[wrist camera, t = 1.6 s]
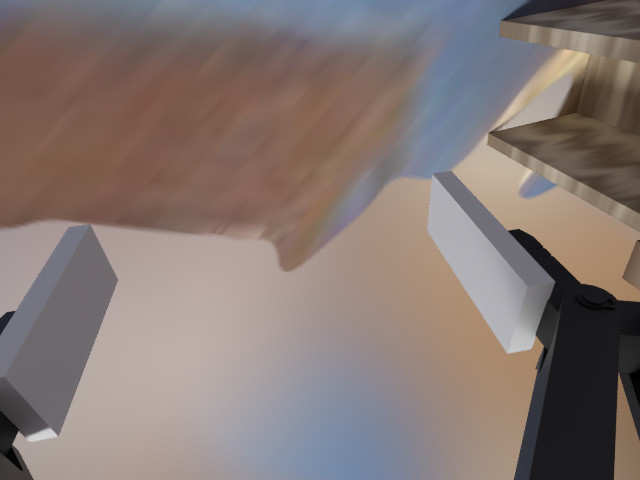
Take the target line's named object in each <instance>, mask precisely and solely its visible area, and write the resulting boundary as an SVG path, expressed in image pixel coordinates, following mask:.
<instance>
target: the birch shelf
mask: <svg viewBox="0 0 640 480" xmlns="http://www.w3.org/2000/svg"><path fill="white" fill-rule="evenodd" d="M499 36H500V37H505V38H511V39H516V40H521V41H526V42H531V43H536V44H542V45H547V46H552V47H557V48H562V49H568V50H573V51H578V52H583V53H588V54H590V56H589V60H588V65H587V69H586V73H585V78H584V82H583V86H582V90H581V95H580V99H579V103H578V108H577V112H576V113H573V114H569V115H565V116H560V117H556V118H552V119H548V120H544V121H539V122H535V123H531V124H526V125H523V126H518V127H514V128H509V129H505V130H501V131H496V132H492V133H489V134H488V143H487V145H489V146H490V147H492V148H494V149H496V150H497V151H499V152H501V153H503V154H504V155H506V156H508V157H510V158H511V159H513V160H515V161H517V162H518V163H520V164H522V165H523V166H525V167H527V168H529V169H530V170H532V171H534V172H536V173H537V174H539V175H541V176H543V177H544V178H546V179H548V180H550V181H551V182H553V183H555V184H557V185H558V186H560V187H562V188H564V189H565V190H567V191H569V192H570V193H572V194H574V195H576V196H578V197H579V198H581V199H583V200H585V201H586V202H588V203H590V204H591V205H593V206H595V207H597V208H598V209H600V210H602V211H604V212H605V213H607V214H609V215H611V216H612V217H614V218H616V219H618V220H619V221H621V222H623V223H625V224H626V225H628V226H630V227H631V228H633V229H635V230H637V231H638V232H640V0H606V1H601V2H596V3H591V4H585V5H580V6H575V7H570V8H565V9H560V10H555V11H549V12H544V13H539V14H534V15H529V16H524V17H519V18H513V19H508V20H503V21H501V26H500V35H499Z"/></svg>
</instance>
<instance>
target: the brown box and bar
mask: <svg viewBox="0 0 640 480" xmlns="http://www.w3.org/2000/svg"><path fill="white" fill-rule="evenodd" d="M622 278H623V279H624V280H626V281H627V282H629V283H630V284H632V285H633V286H634V287H636V288H637V289H639V290H640V240H637V241H636V244H635V247H634V249H633V252H632V254H631V257H630V259H629V262H628V264H627V267H626V270H625V272H624V275H623V277H622Z"/></svg>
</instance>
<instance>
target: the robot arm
mask: <svg viewBox="0 0 640 480" xmlns="http://www.w3.org/2000/svg"><path fill="white" fill-rule="evenodd" d="M427 231H428V233H429V234H430V236H431V238H432V239H433V241H434V242H435V244H436V245H437V247H438V248H439V250H440V251H441V253H442V254H443V256H444V257H445V259H446V260H447V262H448V264H449V265H450V266H451V268H452V270H453V271H454V273H455V274H456V276H457V277H458V279H459V280H460V282H461V283H462V285H463V286H464V288H465V290H466V291H467V293H468V294H469V296H470V297H471V299H472V300H473V301H474V303H475V305H476V306H477V308H478V309H479V311H480V312H481V314H482V316H483V317H484V318H485V320H486V322H487V323H488V325H489V326H490V328H491V329H492V330H493V332H494V334H495V335H496V337H497V338H498V340H499V342H500V343H501V345H502V346H503V348H504V349H505V350H506V352H507V353H513V352H518V351H524V350H529V349H532V346H533V343H534V340H535V337H536V336H537V337H538V339H539V340H540V341H541V343H542V344H543V345H544V348H543V350H542V353H541V355H540V358H539V361H538V363H537V366H536V369H537V370H538V371H537V376H536V380H535V385H534V390H533V394H532V399H531V403H530V408H529V413H528V418H527V422H526V426H525V431H524V436H523V440H522V446H521V449H520V454H519V459H518V464H517V468H516V473H515V477H514V480H614V462H615V438H616V437H615V436H616V413H617V412H616V411H617V389H618V388H617V387H618V372H619V374H620V378H621V381H622V384H623V388H624V391H625V394H626V397H627V401H628V404H629V407H630V411H631V414H632V417H633V420H634V424H635V427H636V430H637V433H638V437H639V440H640V302H633V301H620V300H617V299H616V298H615V297H614V296H613V295H612V294H610V293H608V292H607V291H605V290H604V289H601V288H599V287H596V286H592V285H586V284H581V283H580V282H579V281H578V280H577V279H576V278H575V277H574V276H573V275H572V274H571V273H570V272H569V271H568V270H567V269H566V268H565V267H563V265H561V264H560V262H558V261H557V260H556V259H555V258H554V257H553V256H551V254H550V253H549V252H548V251H547V250H546V249H545V248H543V246H542V245H541V244H540V243H539V242H538V241H537V240H536V239H535V238H534V237H533V236H531V235H529V234H527V233H526V232H524V231H522V230H520V229H516V230H510V231H507V230H506V229H505V228H504V227H503V226H502V225H501V224H500V222H499V221H498V220H497V219H496V218H495V217H494V216H493V215H492V214H491V213H490V212H489V211H488V210H487V209H486V208H485V207H484V205H483V204H482V203H481V202H480V201H479V200H478V199H477V198H476V197H475V196H474V195H473V194H472V193H471V192H470V191H469V189H467V188H466V186H465V185H464V184H463V183H462V182H461V181H460V180H459V179H458V178H457V177H456V176H455V175H454V174H453V172H452V171H448V172H442V173H435V174H432V185H431V196H430V207H429V217H428V227H427ZM117 281H118V279H117V277H116V275H115V273H114V271H113V269H112V267H111V265H110V263H109V261H108V259H107V257H106V255H105V253H104V251H103V249H102V247H101V245H100V243H99V241H98V239H97V237H96V235H95V233H94V231H93V229H92V227H91V225H90V224H89V225H82V226H75V227H69V228H68V229H67V231H66V232H65V234H64V236H63V237H62V239H61V240H60V242H59V244H58V245H57V247H56V248H55V250H54V251H53V253H52V255H51V256H50V258H49V259H48V261H47V262H46V264H45V266H44V267H43V269H42V270H41V272H40V274H39V275H38V277H37V278H36V280H35V281H34V283H33V285H32V286H31V288H30V289H29V291H28V293H27V294H26V296H25V297H24V299H23V301H22V302H21V304H20V305H19V307H18V308H17V310H16V311H12V312H7V313H5V314H4V315H3V316H2V317H1V318H0V480H33V478H32V476H31V474H30V473H29V470H28V468H27V466H26V464H25V462H24V461H23V459H22V457H21V455H20V453H19V451H18V450H17V449H16V448H15V447H14V446H13V445H12V444H13V442H14V439H15V437H16V435H17V433H18V431H19V432H20V433H21V434H22V435H23V436H24V437H26V439H27V440H28V441H29V442H32V441H37V440H43V439H48V438H53V437H58V436H59V434H60V431H61V428H62V426H63V423H64V420H65V418H66V415H67V413H68V410H69V407H70V405H71V402H72V399H73V397H74V394H75V392H76V389H77V386H78V384H79V381H80V378H81V376H82V373H83V371H84V368H85V365H86V363H87V360H88V358H89V355H90V352H91V350H92V347H93V344H94V342H95V339H96V337H97V334H98V331H99V329H100V326H101V323H102V321H103V318H104V315H105V313H106V310H107V308H108V305H109V302H110V300H111V297H112V295H113V292H114V289H115V287H116V284H117Z"/></svg>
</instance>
